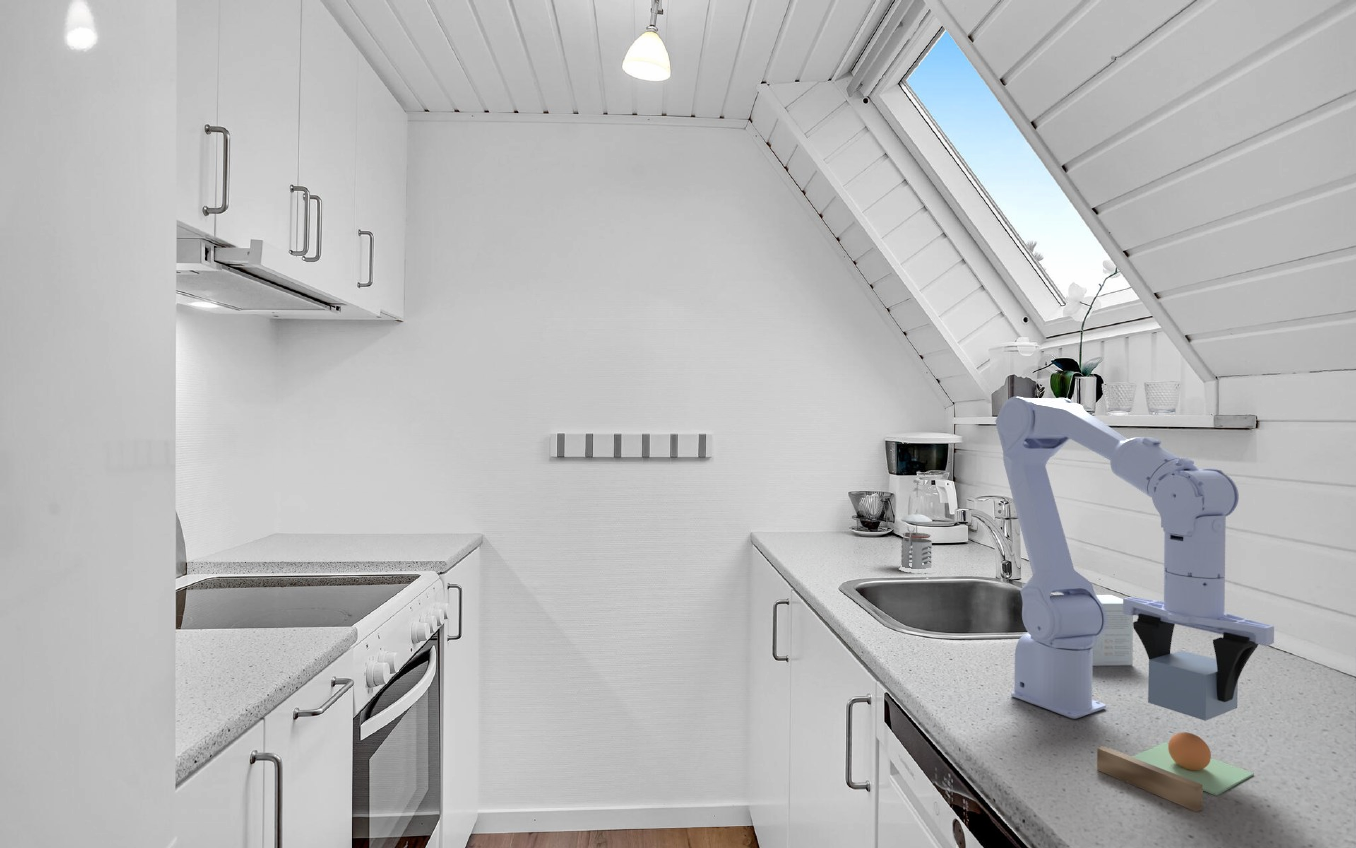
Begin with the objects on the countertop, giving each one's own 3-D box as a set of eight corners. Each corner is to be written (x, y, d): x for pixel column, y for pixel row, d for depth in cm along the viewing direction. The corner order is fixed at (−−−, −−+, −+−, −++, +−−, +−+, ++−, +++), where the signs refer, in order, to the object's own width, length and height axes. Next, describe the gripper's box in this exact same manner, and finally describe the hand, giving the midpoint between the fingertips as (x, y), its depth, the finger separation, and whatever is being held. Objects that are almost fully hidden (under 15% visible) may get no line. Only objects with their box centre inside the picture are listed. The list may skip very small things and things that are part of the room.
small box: (1111, 655, 121) (1112, 594, 121) (1133, 666, 116) (1134, 602, 116) (1066, 655, 121) (1066, 594, 121) (1086, 666, 116) (1086, 602, 116)
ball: (1168, 721, 83) (1181, 735, 84) (1158, 754, 81) (1171, 767, 83) (1207, 734, 79) (1220, 748, 81) (1198, 768, 78) (1211, 782, 80)
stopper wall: (1097, 769, 81) (1097, 748, 81) (1102, 767, 81) (1103, 745, 81) (1196, 812, 72) (1196, 787, 72) (1202, 808, 73) (1202, 784, 73)
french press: (940, 570, 191) (941, 478, 191) (924, 577, 182) (925, 480, 182) (905, 565, 197) (906, 476, 197) (888, 571, 189) (889, 478, 189)
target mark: (1127, 760, 83) (1127, 758, 83) (1166, 743, 88) (1166, 742, 88) (1216, 795, 75) (1216, 793, 75) (1253, 775, 80) (1253, 773, 80)
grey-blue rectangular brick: (1148, 702, 82) (1148, 659, 82) (1180, 691, 86) (1181, 650, 86) (1205, 720, 77) (1206, 675, 77) (1237, 708, 81) (1238, 664, 81)
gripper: (1110, 565, 86) (1108, 676, 86) (1254, 590, 73) (1253, 720, 73) (1140, 560, 89) (1138, 666, 89) (1282, 583, 77) (1281, 706, 77)
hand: (1192, 690), depth 82 cm, fingers closed on grey-blue rectangular brick, 6 cm apart
